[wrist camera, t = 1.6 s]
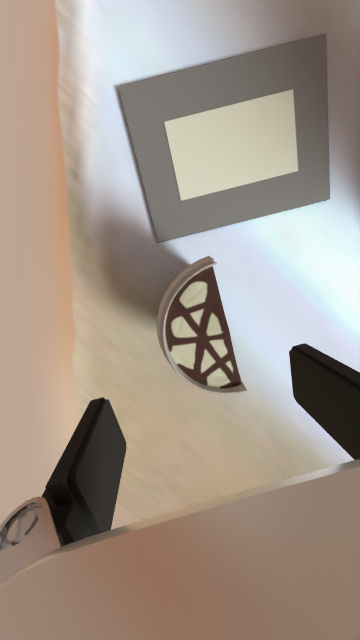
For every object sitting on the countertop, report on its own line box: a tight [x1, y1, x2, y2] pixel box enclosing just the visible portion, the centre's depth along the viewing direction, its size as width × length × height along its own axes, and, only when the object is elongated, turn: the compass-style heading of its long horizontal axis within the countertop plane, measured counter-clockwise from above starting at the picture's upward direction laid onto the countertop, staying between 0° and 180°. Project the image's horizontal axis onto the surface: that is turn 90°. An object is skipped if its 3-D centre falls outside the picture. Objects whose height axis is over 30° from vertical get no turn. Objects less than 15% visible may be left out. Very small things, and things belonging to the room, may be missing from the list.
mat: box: [118, 34, 330, 243], centre depth 21 cm, size 20×14×1 cm
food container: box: [157, 256, 247, 394], centre depth 21 cm, size 12×6×10 cm, turn 17°
